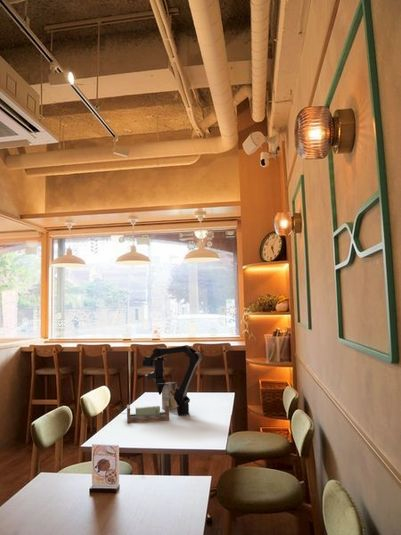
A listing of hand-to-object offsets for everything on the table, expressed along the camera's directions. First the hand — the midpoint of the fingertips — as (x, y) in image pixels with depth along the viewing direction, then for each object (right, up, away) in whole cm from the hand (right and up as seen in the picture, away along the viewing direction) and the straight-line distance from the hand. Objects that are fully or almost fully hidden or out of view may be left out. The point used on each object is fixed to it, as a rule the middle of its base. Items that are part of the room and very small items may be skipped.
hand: (159, 393), depth 265 cm
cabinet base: (-5, -10, -17) cm, 21 cm away
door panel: (-5, -9, -17) cm, 20 cm away
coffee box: (+6, -14, +12) cm, 19 cm away
